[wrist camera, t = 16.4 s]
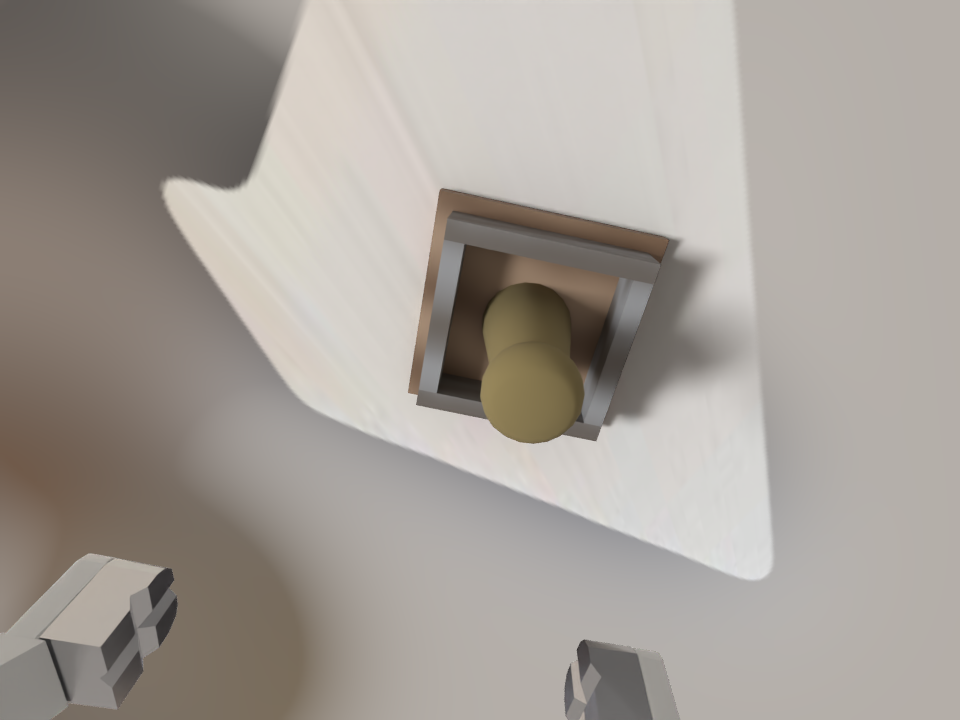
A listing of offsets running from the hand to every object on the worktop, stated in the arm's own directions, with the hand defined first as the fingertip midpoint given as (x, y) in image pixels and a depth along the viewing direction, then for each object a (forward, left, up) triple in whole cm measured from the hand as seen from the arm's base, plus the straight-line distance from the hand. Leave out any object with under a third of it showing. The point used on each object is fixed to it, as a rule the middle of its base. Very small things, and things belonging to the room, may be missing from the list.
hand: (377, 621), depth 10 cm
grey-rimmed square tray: (+2, +4, -26) cm, 26 cm away
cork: (+2, +4, -25) cm, 25 cm away
